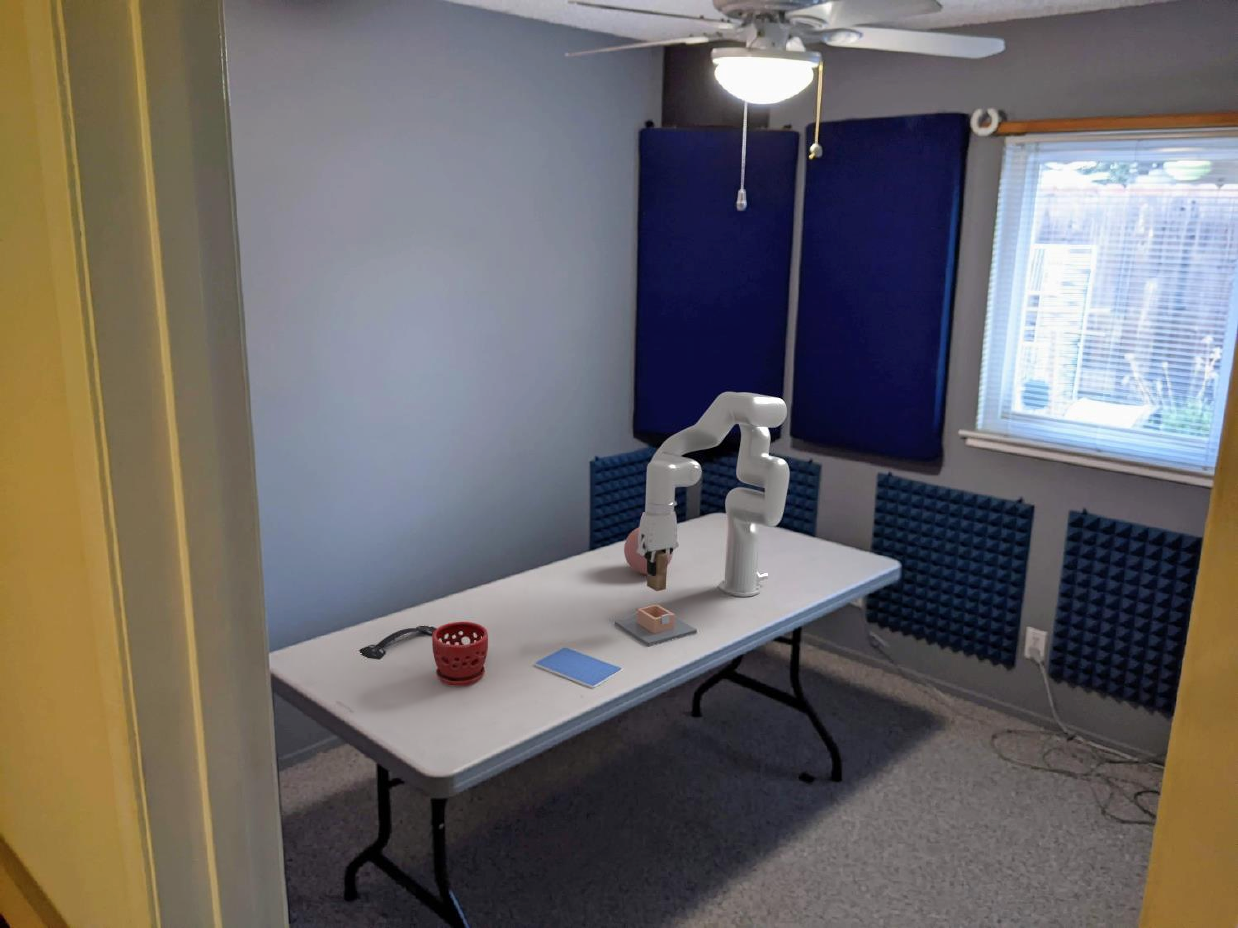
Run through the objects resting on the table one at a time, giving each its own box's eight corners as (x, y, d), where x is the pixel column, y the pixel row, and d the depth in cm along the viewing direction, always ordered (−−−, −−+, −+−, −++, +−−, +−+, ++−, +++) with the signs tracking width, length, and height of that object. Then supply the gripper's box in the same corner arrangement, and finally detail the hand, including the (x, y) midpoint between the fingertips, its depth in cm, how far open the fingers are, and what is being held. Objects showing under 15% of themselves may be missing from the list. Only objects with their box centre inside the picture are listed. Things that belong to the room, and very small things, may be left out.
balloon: (689, 568, 304) (691, 522, 300) (653, 585, 288) (655, 537, 284) (650, 557, 313) (652, 512, 309) (613, 573, 297) (614, 527, 293)
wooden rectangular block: (655, 583, 257) (657, 549, 255) (665, 589, 254) (667, 553, 251) (646, 585, 256) (648, 550, 253) (656, 591, 252) (658, 555, 250)
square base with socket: (661, 612, 269) (662, 593, 267) (696, 633, 256) (697, 613, 254) (614, 624, 260) (615, 605, 258) (648, 646, 247) (649, 626, 246)
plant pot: (422, 677, 228) (421, 631, 225) (467, 660, 237) (466, 616, 234) (454, 697, 219) (453, 649, 216) (499, 679, 228) (499, 633, 225)
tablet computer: (624, 672, 234) (625, 667, 233) (593, 691, 224) (593, 686, 224) (564, 650, 245) (564, 645, 245) (532, 667, 235) (532, 662, 235)
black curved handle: (350, 655, 240) (349, 642, 239) (427, 624, 258) (427, 613, 258) (372, 666, 234) (371, 653, 233) (450, 634, 253) (449, 622, 252)
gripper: (675, 499, 257) (672, 563, 261) (626, 508, 248) (623, 574, 252) (692, 507, 251) (689, 572, 255) (642, 515, 242) (639, 583, 246)
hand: (656, 572), depth 254 cm, fingers closed on wooden rectangular block, 3 cm apart
